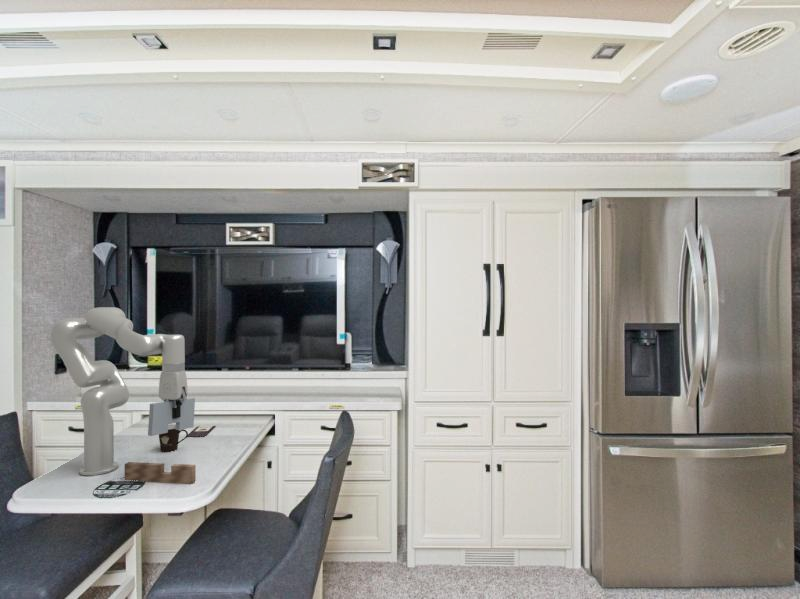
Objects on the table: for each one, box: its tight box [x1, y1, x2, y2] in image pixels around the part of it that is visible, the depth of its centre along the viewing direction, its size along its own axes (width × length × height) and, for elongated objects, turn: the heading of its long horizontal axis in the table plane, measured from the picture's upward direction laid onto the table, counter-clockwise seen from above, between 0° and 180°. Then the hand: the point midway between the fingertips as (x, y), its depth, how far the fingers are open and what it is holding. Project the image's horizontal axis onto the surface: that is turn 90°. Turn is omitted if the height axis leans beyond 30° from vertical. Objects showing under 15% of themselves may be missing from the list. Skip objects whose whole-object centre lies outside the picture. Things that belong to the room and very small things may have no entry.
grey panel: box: [147, 397, 196, 437], centre depth 172 cm, size 18×2×11 cm, turn 156°
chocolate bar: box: [185, 425, 216, 439], centre depth 229 cm, size 9×1×18 cm
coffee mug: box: [158, 423, 189, 453], centre depth 200 cm, size 12×9×10 cm
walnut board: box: [124, 461, 197, 485], centre depth 166 cm, size 26×2×6 cm, turn 83°
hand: (174, 417), depth 172 cm, fingers closed on grey panel, 1 cm apart
